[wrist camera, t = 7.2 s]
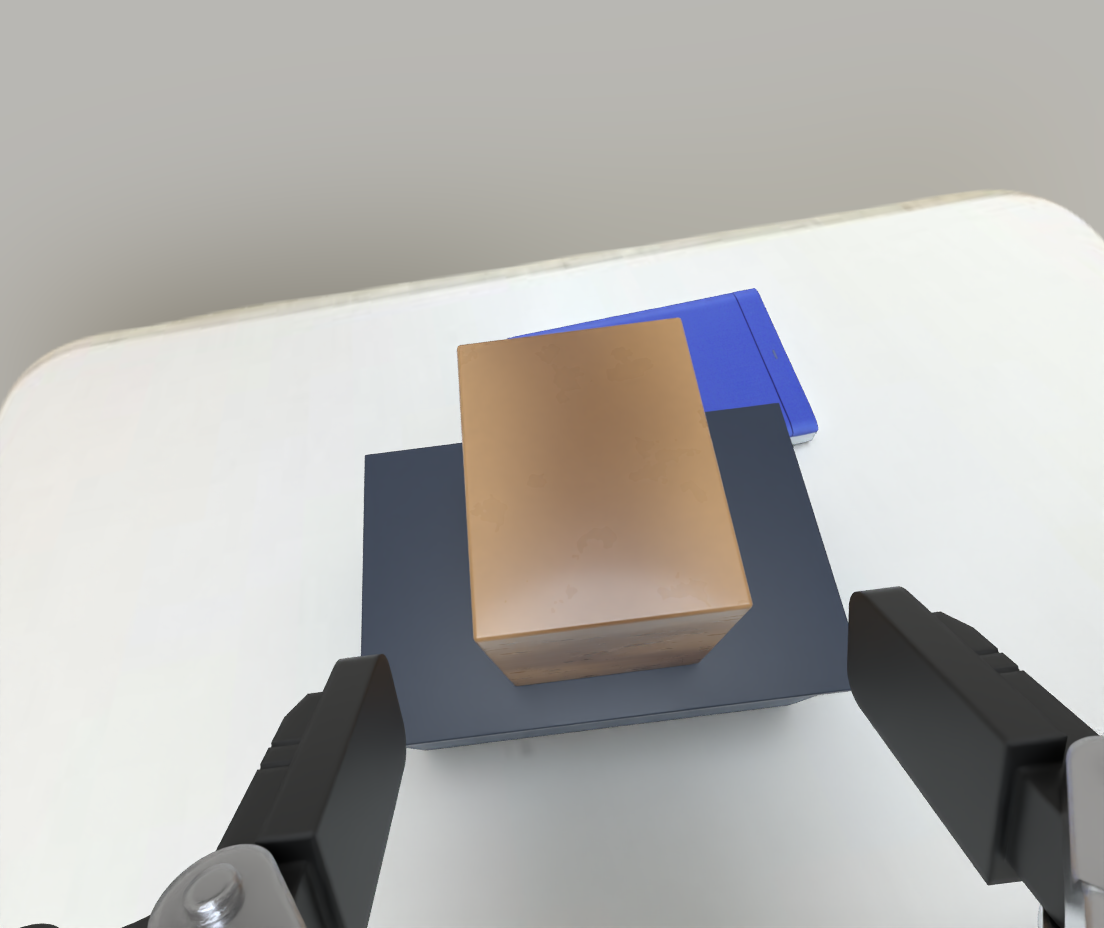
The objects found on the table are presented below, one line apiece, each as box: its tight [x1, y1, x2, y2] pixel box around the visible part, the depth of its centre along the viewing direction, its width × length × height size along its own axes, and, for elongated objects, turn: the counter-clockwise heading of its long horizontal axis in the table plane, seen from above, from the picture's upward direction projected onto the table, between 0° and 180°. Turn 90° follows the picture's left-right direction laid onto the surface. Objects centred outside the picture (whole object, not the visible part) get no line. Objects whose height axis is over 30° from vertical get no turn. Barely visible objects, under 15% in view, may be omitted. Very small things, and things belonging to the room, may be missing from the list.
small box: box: [457, 317, 753, 686], centre depth 17 cm, size 5×7×7 cm
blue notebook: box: [508, 288, 818, 444], centre depth 30 cm, size 2×8×12 cm
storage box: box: [361, 403, 851, 750], centre depth 23 cm, size 14×9×7 cm, turn 96°
